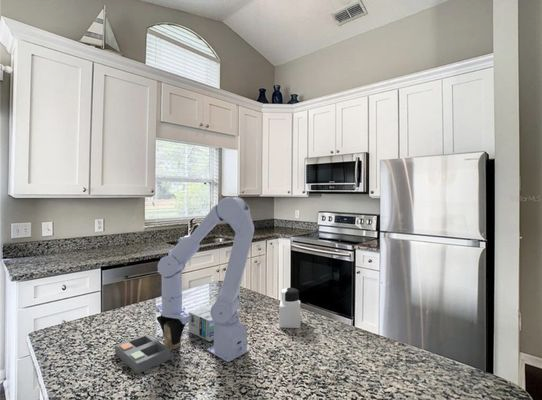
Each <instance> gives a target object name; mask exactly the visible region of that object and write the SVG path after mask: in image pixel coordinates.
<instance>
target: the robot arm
mask: <svg viewBox="0 0 542 400" xmlns="http://www.w3.org/2000/svg"><path fill="white" fill-rule="evenodd" d="M251 215H252V214H251V210H250V206H249V205H248V204H247V203H246V202H245V200H244V199H243V198H242V197H238V196H235V197H230V196H228V197H223V198H222V199H220V200H219V202H218V203H217V204H215V205H214V206H213V207H212V208H211V210H210V211H209V212H208V213H207V215H206V216H205V217H204V218H203V220H202V221H201V222H200V223H199V224H198V226H196V228H195V229H194V231H193V232H192V233H191V234H190V235H184V236H182V237H179V239H177V244H176V245H175V246H174V247H173V248H171V249H170V250H168V252H167V254H168V255H166V256H163V257H161V258H160V260H159V261H158V263H157V272H158V273H159V274H160V276H161V303H160V304H157V305H156V306H155V312H156V313H159V314H160V315H159V316H157V317H156V320H157V322H158V324H159V325H160V328H161V331H162V335H163V336H164V324H166V322H167V324H168V326H169V328H170V331H171V339H172V344H173V345H175V344H178V343H180V340H181V339H182V335H183V331H184V329H185V327H186V325H187V324H189V322H190V316H189V313H187V312H186V311H185V310H186V306H183V281H182V280H183V279H182V278H183V277H182V276H183V274H182V273H183V271H184V269H185V267H186V264H187V263H188V262H189V260H191V258H192V257H193V256H195V254H196V253H197V252H198V251H199V250H200V247H201V246H200V242H201V241H202V240H204V238H205V237H206V236H207V235H208V234H209V233H210V232H211V231H212V230H213V229H214V228H215V227H216V225H218V224H220V223H223V222H226V223H227V224H228V225H230V228H231V229H232V230H233V232H234V234H235V235H234V237H233V238H234V239H233V242H232V248H231V251H230V254H229V257H228V262H227V266H226V270H225V274H224V279H223V282H222V285H221V288H220V290H219V293H218V295H217V298H216V301H215V302H214V303H212V304H213V306H212V307H211V311H210V313H211V317H212V319H213V320H214V340H213V345H212V346H210V347H208V348H207V351H208V352H210V353H211V354H213V355H215V356H217V357H218V358H220V359H221V360H223V361H225V362H227V363H229V362H231V361H233V360H235V359H237V358H238V357H241V356H242V355H244V354H246V353H249V351H250V348H248V331H247V328H246V326H245V325H244V324H243V323H242V322H241V321H240V316H239V313H238V310H239V309H240V306H241V284H242V280H243V277H244V272H245V269H246V264H247V261H248V258H249V253H250V250H251V249H250V248H251V246H252V241H253V237H254V234H255V233H254V232H255V225H254V222H253V218H252V216H251ZM171 320H172V321H171ZM168 321H169V322H168Z"/></svg>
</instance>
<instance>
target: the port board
mask: <svg viewBox="0 0 542 400" xmlns="http://www.w3.org/2000/svg"><path fill="white" fill-rule="evenodd" d="M114 350H115V351H114V353H115V356H116V357H118V358H119V360H120V361H122V362H123V363H125V365H127V366H128V368H130V369H131V370H133V372H135V374H137V375H138V374H140V373H143V372H145V371H148V370H149V369H152V368H154V367H156V366H158V365H160V364H163V363H165V362H167V361H169V360H171V356H172V355H171V351H172V350H170V349H169V348H167V347H166V346H164V343H161V342H160V341H159V340H157V339H156V338H154V337H152V336H151V335H149V334H147V333H145V334H142V335H139V336H137V337H133V338H131V339H129V340H127V341H123V342H119V343H117V344H115V346H114Z"/></svg>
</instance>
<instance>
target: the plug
mask: <svg viewBox="0 0 542 400" xmlns="http://www.w3.org/2000/svg"><path fill="white" fill-rule="evenodd" d="M171 321H172V320H171ZM168 322H169V321H168ZM163 339H164V340H163V345H164V346H166V347H167V348H169V349H170V351H172V350H174V349H176V348H179V347H180V346H182V344H181V342H182V341H181V340H180V343H178V344H175V345H173V344H172V339H171V331H170V328H169V326H168V324H167V322H166V324H164V335H163Z"/></svg>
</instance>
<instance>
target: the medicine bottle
mask: <svg viewBox="0 0 542 400" xmlns="http://www.w3.org/2000/svg"><path fill="white" fill-rule="evenodd" d="M280 293H281V295H280V297H281V299H280V301H279V306H278V314H279V315H278V324H279V325H278V327H279V328H282V329H301V300H299V299H300V298H299V297H300V295H299V290H298V289H297V288H294V287H285V288H282V290H281V291H280Z"/></svg>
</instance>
